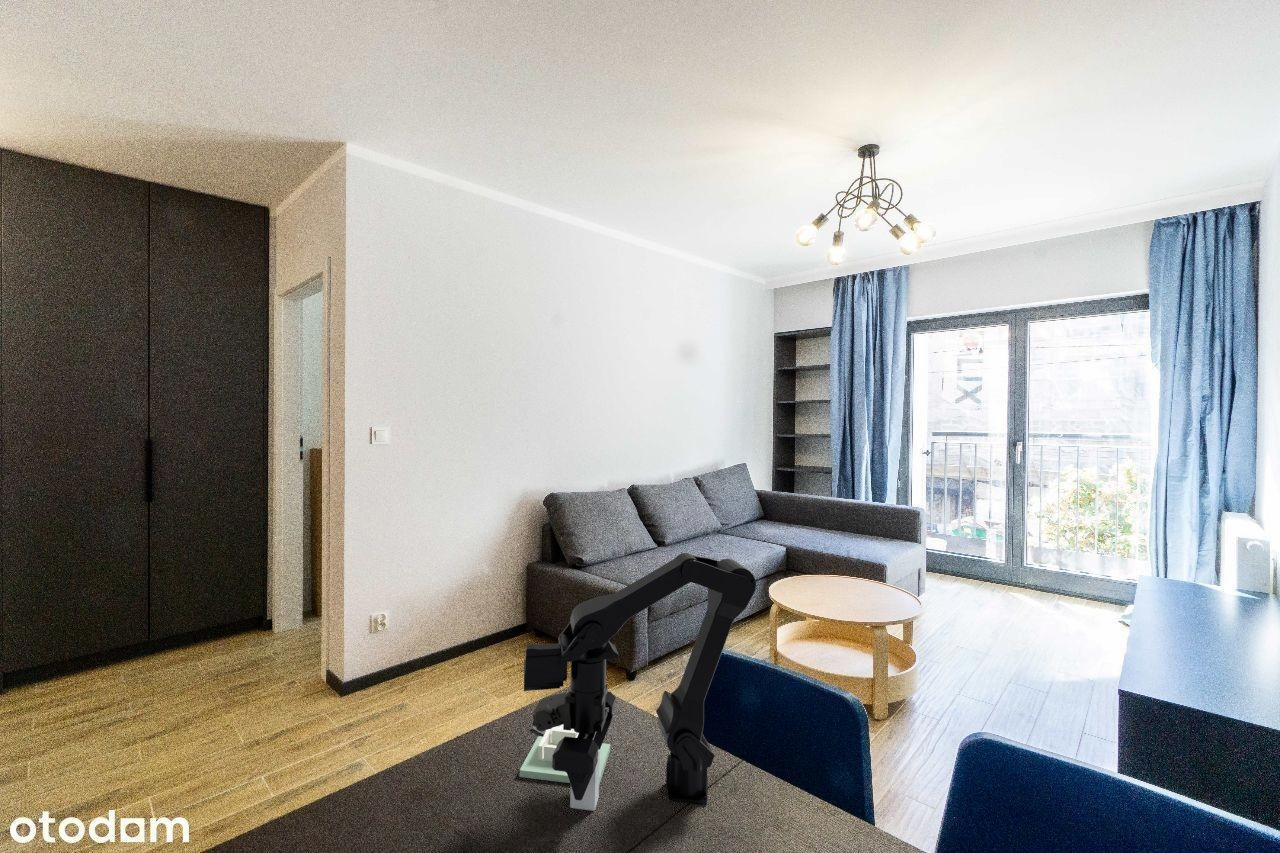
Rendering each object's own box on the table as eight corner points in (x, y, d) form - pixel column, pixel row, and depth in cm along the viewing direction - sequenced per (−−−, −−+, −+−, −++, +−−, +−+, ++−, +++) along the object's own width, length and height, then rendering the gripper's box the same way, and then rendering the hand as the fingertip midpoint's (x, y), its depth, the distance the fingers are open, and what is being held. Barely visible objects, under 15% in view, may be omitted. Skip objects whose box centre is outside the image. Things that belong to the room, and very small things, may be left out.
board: (610, 750, 101) (610, 730, 101) (598, 786, 91) (599, 765, 91) (538, 742, 103) (538, 723, 103) (519, 776, 93) (520, 755, 93)
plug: (598, 797, 88) (599, 745, 88) (594, 810, 85) (596, 757, 85) (574, 794, 89) (576, 743, 89) (570, 807, 86) (571, 754, 86)
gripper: (556, 654, 97) (554, 740, 97) (519, 710, 79) (517, 815, 79) (617, 660, 96) (614, 746, 96) (593, 718, 77) (591, 825, 77)
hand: (585, 779), depth 87 cm, fingers open, 9 cm apart
